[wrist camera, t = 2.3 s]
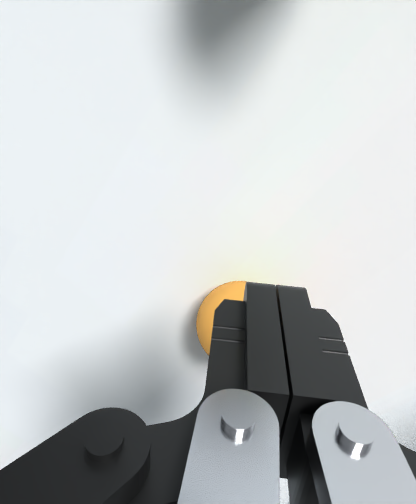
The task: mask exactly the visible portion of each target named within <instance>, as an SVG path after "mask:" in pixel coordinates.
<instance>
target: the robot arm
mask: <svg viewBox="0 0 416 504" xmlns="http://www.w3.org/2000/svg"><path fill="white" fill-rule="evenodd" d="M343 340H344V339H343V336H342V333H341V330H340V327H339V325H338V323H337V322H336V321H335V320H334V319H333V318H332V316H331V315H330V314H329V313H328V312H327V311H326V310H324V309H315V308H311V305H310V302H309V298H308V294H307V290H306V288H302V287H292V286H283V285H276V286H275V285H272V284H263V283H253V282H246V285H245V291H244V298H243V301H239V300H230V299H224V300H223V301H222V302H221V303H220V305H219V306H218V307H217V308H216V309H215V311H214V319H213V328H212V336H211V344H210V353H209V361H208V370H207V378H206V386H205V392H204V396H203V398H202V400H201V402H200V403H199V405H198V406H197V407H196V408H195V409H194V410H193V411H191V412H190V413H189V414H187V415H186V416H184V417H182V418H179V419H177V420H174V421H170V422H165V423H160V424H154V425H149V426H146V424H145V423H144V421H143V420H142V419H141V418H140V417H139V416H137V415H136V414H135V413H133V412H131V411H128V410H125V409H121V408H103V409H99V410H95V411H93V412H90V413H88V414H86V415H84V416H82V417H81V418H79V419H78V420H76V421H75V422H73V423H71V424H70V425H68V426H67V427H65V428H64V429H62V430H61V431H59V432H58V433H56V434H55V435H53V436H52V437H50V438H49V439H47V440H45V441H44V442H42V443H41V444H39V445H38V446H36V447H35V448H33V449H32V450H30V451H29V452H27V453H26V454H24V455H23V456H21V457H19V458H18V459H16V460H15V461H13V462H12V463H10V464H9V465H7V466H6V467H4V468H3V469H1V470H0V504H280V478H286V479H288V488H289V502H288V504H416V452H415V451H412V450H410V449H408V448H406V447H404V446H403V445H401V444H399V443H398V442H397V440H396V437H395V436H394V434H393V432H392V431H391V429H390V428H389V427H388V425H387V424H386V423H385V422H384V421H383V420H382V419H381V418H380V417H378V416H377V415H376V414H374V413H373V412H371V411H370V410H368V407H367V404H366V402H365V399H364V396H363V393H362V390H361V387H360V384H359V382H358V379H357V376H356V373H355V370H354V367H353V364H352V362H351V359H350V356H348V350H347V347H346V345H345V342H343Z"/></svg>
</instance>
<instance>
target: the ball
mask: <svg viewBox="0 0 416 504" xmlns="http://www.w3.org/2000/svg"><path fill="white" fill-rule="evenodd" d="M245 285H246V281H233V282H228V283H225V284H223V285H220V286H219V287H217V288H215V289H214V290H213V291H211V292H210V293H209V294H208V295H207V296H206V298H205V299H204V300H203V302H202V304H201V306H200V308H199V311H198V315H197V322H196V328H197V335H198V338H199V341H200V344H201V345H202V347H203V349H204V350H205V352H206V353H207V354H208V355H209V353H210V344H211V336H212V328H213V319H214V311H215V309H216V308H217V307H218V306H219V305H220V303H221V302H222V301H223V300H224V299H230V300H239V301H243V298H244V291H245Z"/></svg>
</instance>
